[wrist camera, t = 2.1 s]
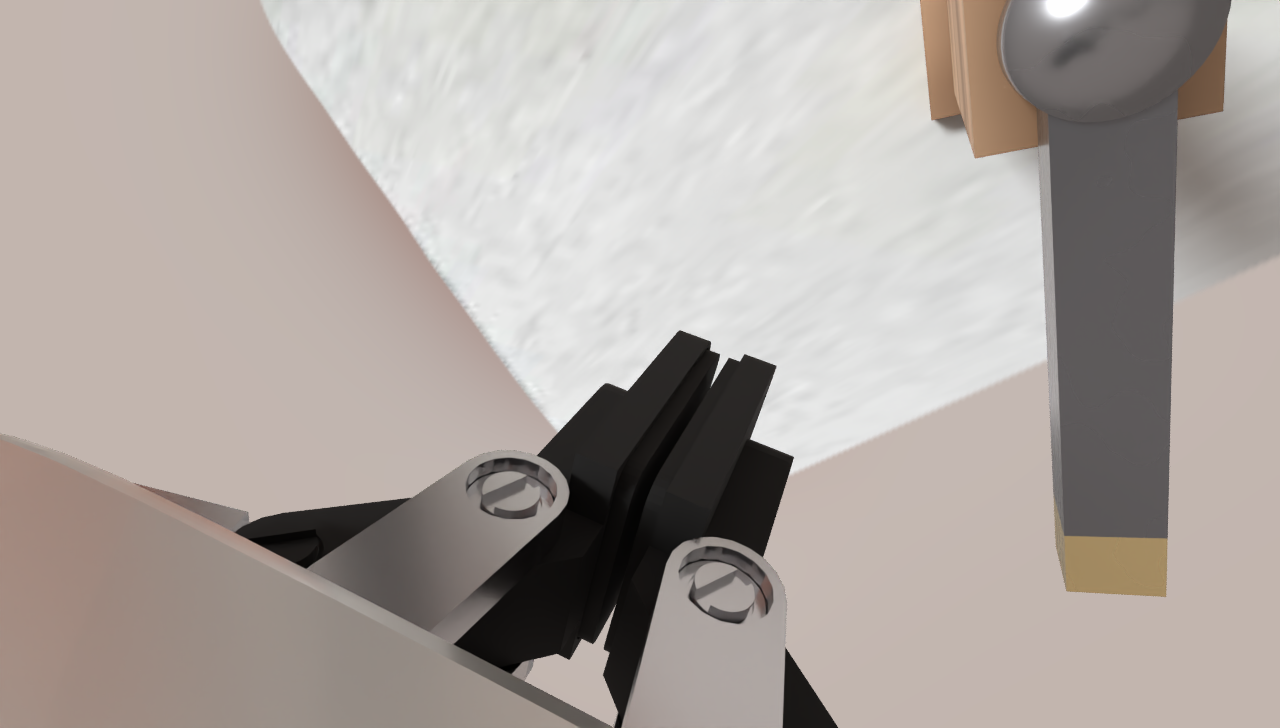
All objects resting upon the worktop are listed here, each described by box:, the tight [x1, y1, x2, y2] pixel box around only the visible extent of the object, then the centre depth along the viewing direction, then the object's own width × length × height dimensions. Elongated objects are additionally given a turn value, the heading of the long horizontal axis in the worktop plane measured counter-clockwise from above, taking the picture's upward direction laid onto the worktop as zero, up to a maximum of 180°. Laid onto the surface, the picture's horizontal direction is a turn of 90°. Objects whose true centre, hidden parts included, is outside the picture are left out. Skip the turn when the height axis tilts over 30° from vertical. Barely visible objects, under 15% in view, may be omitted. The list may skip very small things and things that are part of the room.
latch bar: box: [996, 0, 1231, 597], centre depth 13 cm, size 13×3×2 cm, turn 15°
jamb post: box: [920, 0, 1227, 158], centre depth 21 cm, size 6×5×20 cm
